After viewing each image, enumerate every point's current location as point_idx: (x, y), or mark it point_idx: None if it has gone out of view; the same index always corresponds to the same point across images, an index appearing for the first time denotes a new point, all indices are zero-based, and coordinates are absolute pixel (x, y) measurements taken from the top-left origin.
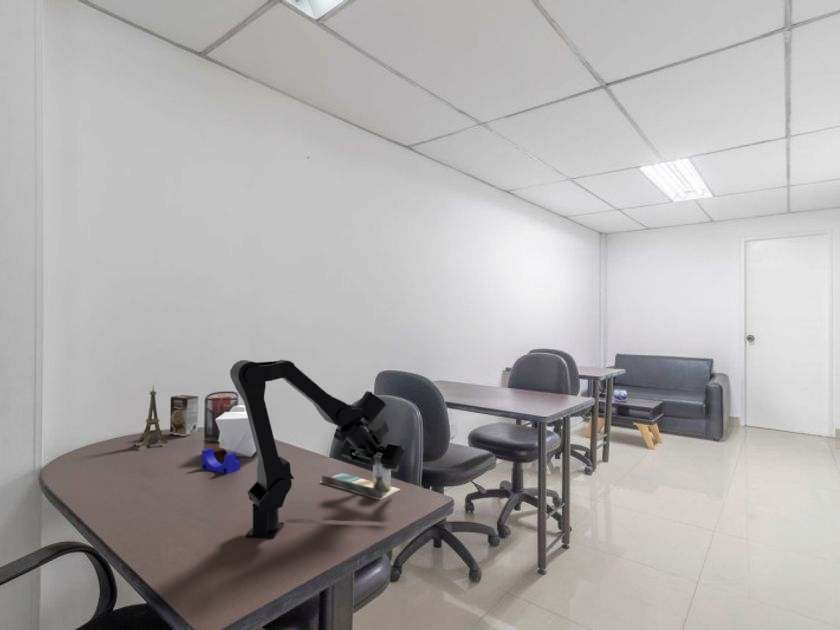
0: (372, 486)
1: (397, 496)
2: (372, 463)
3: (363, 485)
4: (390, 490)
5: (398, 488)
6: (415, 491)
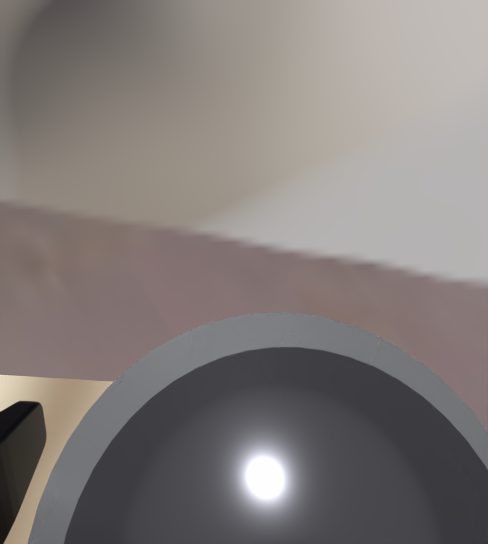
0: None
1: None
2: (37, 433)
3: None
4: None
5: None
6: (461, 332)
